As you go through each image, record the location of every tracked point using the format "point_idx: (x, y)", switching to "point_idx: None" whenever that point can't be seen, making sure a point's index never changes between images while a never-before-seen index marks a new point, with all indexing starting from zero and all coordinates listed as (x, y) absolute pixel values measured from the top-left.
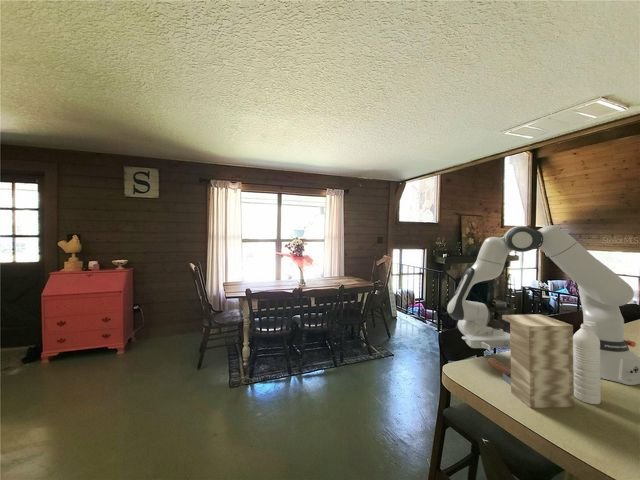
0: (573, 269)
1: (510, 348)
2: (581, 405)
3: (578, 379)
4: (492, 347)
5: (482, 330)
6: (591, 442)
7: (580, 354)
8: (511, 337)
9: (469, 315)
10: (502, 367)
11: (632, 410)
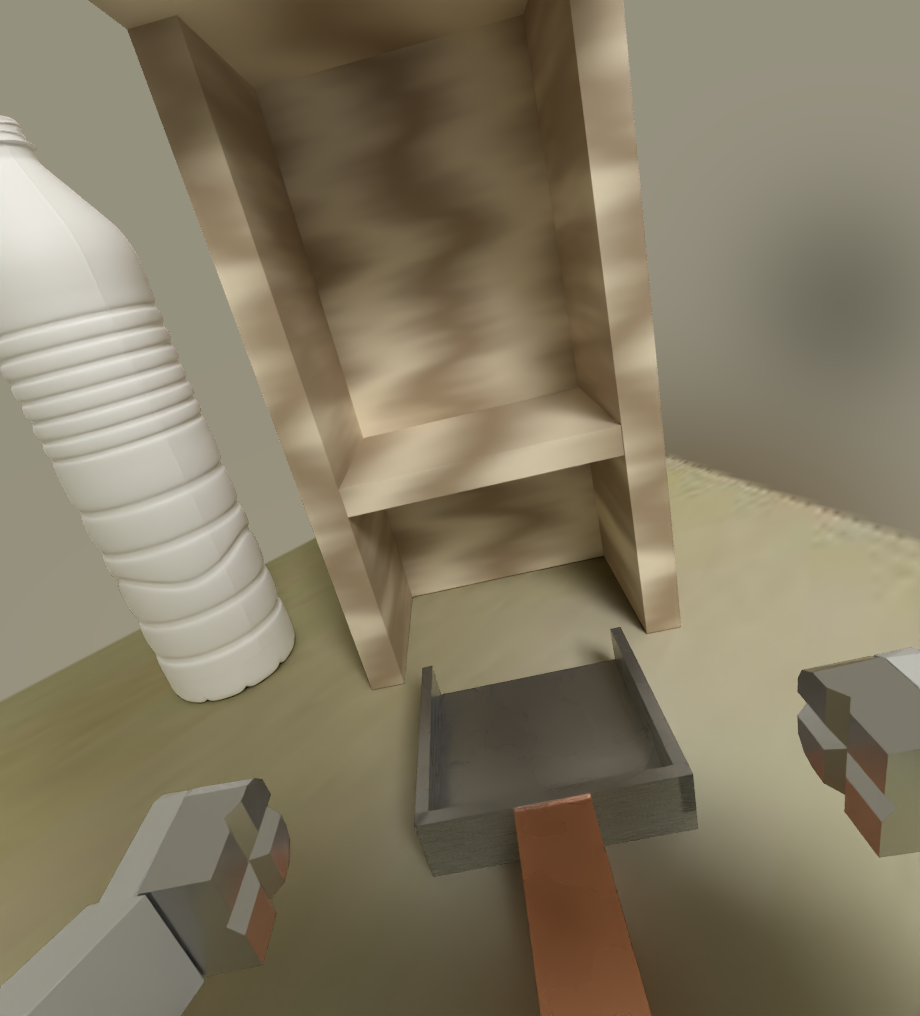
0: None
1: (262, 949)
2: (337, 608)
3: (248, 534)
4: (823, 676)
5: None
6: None
7: (177, 359)
8: (626, 108)
9: None
10: (627, 985)
11: None
